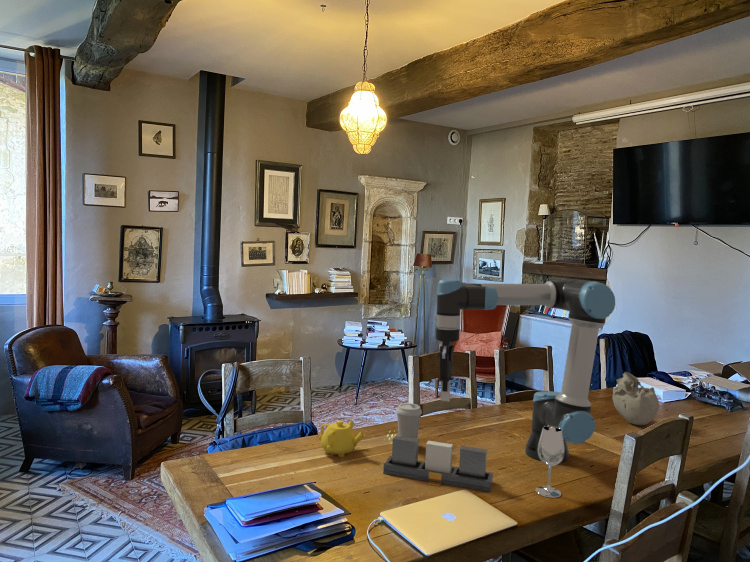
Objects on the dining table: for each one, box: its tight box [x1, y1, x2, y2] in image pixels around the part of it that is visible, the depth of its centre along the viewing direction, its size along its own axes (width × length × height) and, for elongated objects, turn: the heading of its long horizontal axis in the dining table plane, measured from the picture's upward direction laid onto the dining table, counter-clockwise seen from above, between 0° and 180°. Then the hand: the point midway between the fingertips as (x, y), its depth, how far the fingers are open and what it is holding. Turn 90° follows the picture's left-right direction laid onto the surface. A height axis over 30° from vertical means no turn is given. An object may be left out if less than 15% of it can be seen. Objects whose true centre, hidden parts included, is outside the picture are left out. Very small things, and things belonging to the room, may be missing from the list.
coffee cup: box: [395, 402, 423, 439], centre depth 205 cm, size 10×10×15 cm
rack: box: [382, 435, 494, 493], centre depth 177 cm, size 34×10×11 cm, turn 72°
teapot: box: [318, 420, 366, 458], centre depth 196 cm, size 14×14×11 cm
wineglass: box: [535, 426, 564, 499], centre depth 170 cm, size 8×8×20 cm
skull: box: [612, 371, 661, 426], centre depth 244 cm, size 20×15×22 cm
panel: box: [424, 440, 454, 474], centre depth 178 cm, size 8×3×10 cm, turn 71°
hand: (445, 400), depth 179 cm, fingers closed
